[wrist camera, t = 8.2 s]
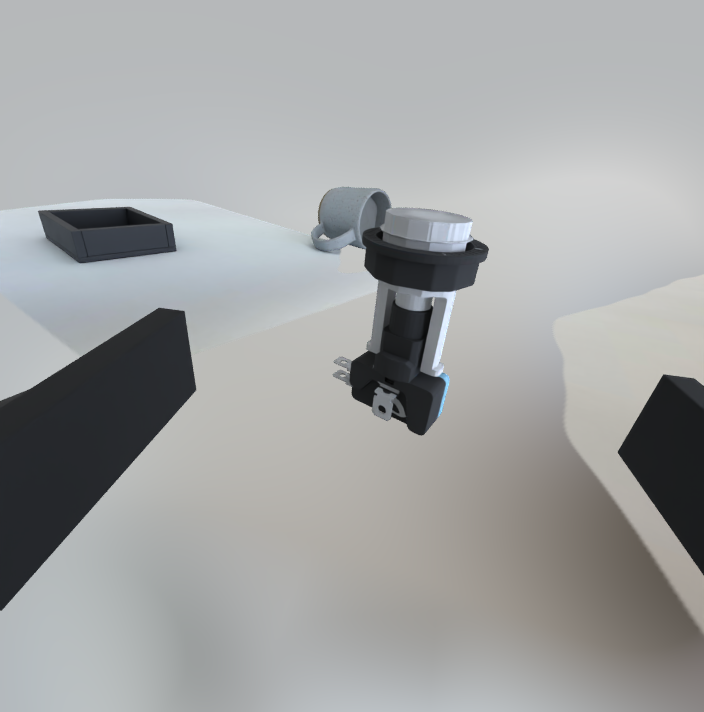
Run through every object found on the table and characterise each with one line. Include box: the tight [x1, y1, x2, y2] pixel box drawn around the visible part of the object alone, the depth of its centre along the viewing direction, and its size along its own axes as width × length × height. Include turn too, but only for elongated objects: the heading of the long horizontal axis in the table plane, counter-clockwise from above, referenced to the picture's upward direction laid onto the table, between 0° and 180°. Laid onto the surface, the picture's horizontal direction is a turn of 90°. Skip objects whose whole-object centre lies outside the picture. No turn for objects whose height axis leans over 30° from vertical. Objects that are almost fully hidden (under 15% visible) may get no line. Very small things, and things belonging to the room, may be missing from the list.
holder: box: [38, 207, 176, 263], centre depth 42 cm, size 10×12×3 cm
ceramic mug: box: [311, 187, 391, 251], centre depth 50 cm, size 11×8×8 cm
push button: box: [333, 208, 489, 435], centre depth 18 cm, size 7×5×10 cm
